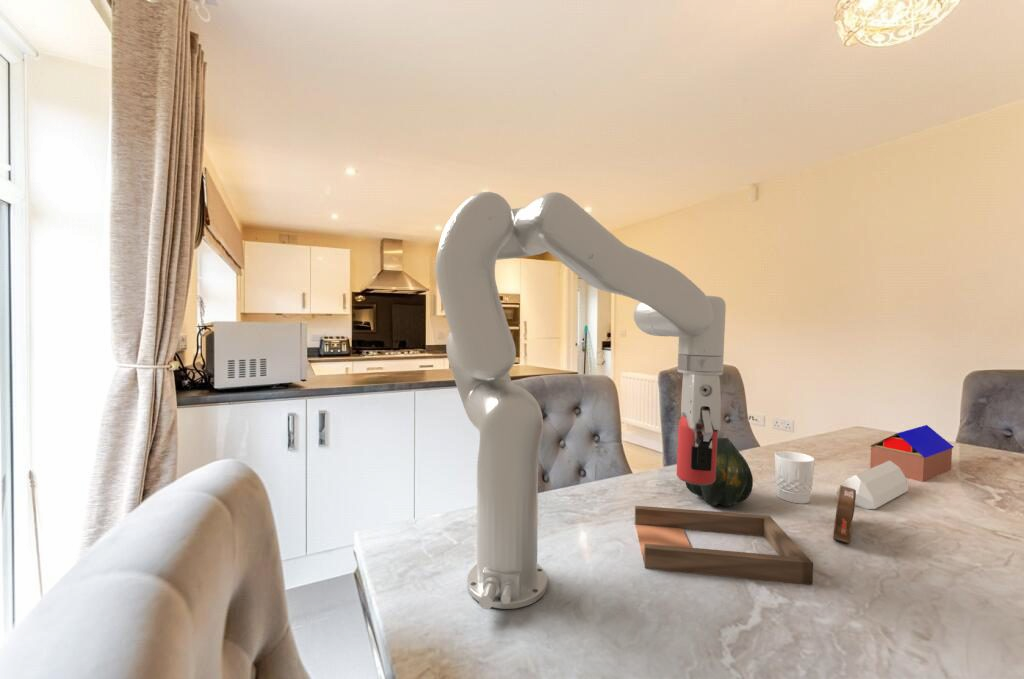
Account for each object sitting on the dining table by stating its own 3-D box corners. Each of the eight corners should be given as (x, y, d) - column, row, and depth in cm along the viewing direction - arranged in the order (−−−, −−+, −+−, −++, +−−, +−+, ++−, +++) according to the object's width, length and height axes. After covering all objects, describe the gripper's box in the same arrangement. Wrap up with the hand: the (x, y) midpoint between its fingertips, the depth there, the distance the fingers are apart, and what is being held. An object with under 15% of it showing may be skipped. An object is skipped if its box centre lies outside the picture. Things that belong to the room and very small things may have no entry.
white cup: (797, 491, 107) (799, 450, 106) (821, 504, 99) (823, 461, 98) (766, 491, 106) (767, 451, 106) (787, 505, 99) (789, 461, 98)
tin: (836, 518, 92) (837, 479, 92) (855, 522, 90) (856, 482, 90) (831, 546, 81) (833, 501, 80) (853, 552, 79) (854, 506, 78)
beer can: (719, 488, 75) (722, 419, 75) (679, 484, 77) (682, 416, 76) (710, 475, 82) (713, 412, 81) (673, 472, 83) (676, 409, 83)
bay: (812, 584, 69) (813, 563, 69) (645, 568, 73) (645, 547, 73) (768, 532, 86) (769, 515, 85) (634, 522, 90) (634, 505, 90)
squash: (676, 483, 97) (725, 436, 94) (668, 464, 111) (711, 423, 109) (727, 532, 94) (779, 484, 92) (712, 506, 109) (757, 464, 106)
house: (868, 469, 123) (869, 428, 123) (899, 458, 133) (900, 420, 132) (923, 483, 113) (925, 438, 112) (953, 470, 123) (955, 429, 122)
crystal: (882, 499, 93) (922, 478, 106) (848, 474, 98) (890, 456, 111) (860, 522, 96) (901, 498, 109) (828, 496, 101) (871, 477, 114)
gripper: (738, 370, 69) (733, 482, 70) (709, 361, 86) (706, 451, 87) (688, 368, 71) (683, 477, 71) (669, 360, 88) (666, 448, 88)
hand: (696, 462), depth 79 cm, fingers closed on beer can, 6 cm apart
